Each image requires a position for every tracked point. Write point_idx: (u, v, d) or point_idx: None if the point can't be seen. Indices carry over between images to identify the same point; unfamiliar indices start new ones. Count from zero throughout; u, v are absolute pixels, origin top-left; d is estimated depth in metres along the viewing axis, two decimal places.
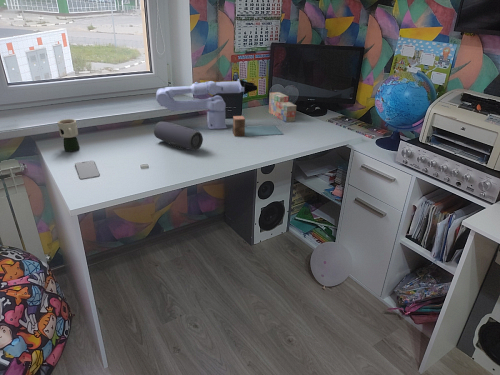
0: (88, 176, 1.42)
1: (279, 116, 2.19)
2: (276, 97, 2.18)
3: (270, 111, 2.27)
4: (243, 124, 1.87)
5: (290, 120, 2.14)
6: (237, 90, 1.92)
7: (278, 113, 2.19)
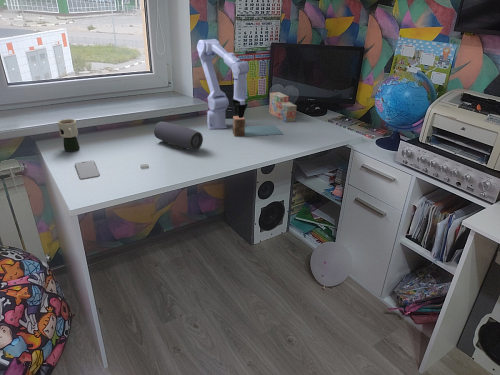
0: (88, 176, 1.42)
1: (279, 116, 2.18)
2: (276, 97, 2.18)
3: (270, 111, 2.27)
4: (243, 124, 1.87)
5: (290, 120, 2.14)
6: (238, 96, 1.80)
7: (278, 113, 2.19)
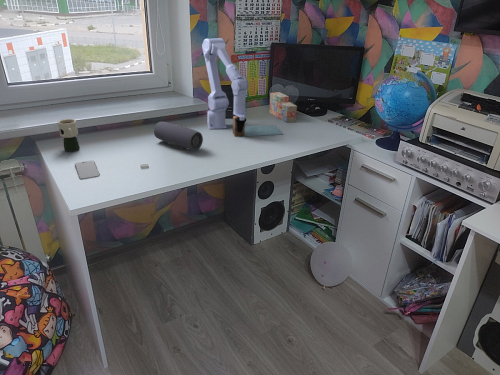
0: (88, 176, 1.42)
1: (279, 116, 2.18)
2: (277, 97, 2.18)
3: (271, 111, 2.27)
4: None
5: (290, 120, 2.13)
6: (237, 112, 1.83)
7: (278, 113, 2.19)
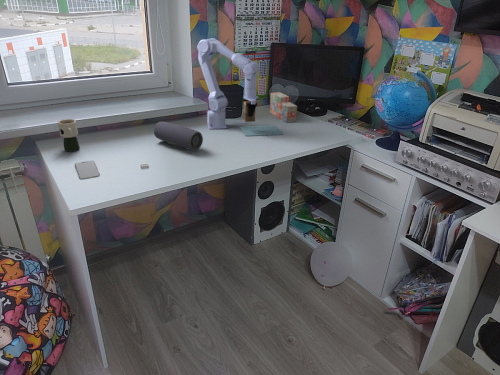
0: (88, 176, 1.42)
1: (280, 116, 2.18)
2: (277, 97, 2.18)
3: (271, 111, 2.27)
4: None
5: (291, 120, 2.13)
6: (248, 96, 1.83)
7: (279, 113, 2.19)
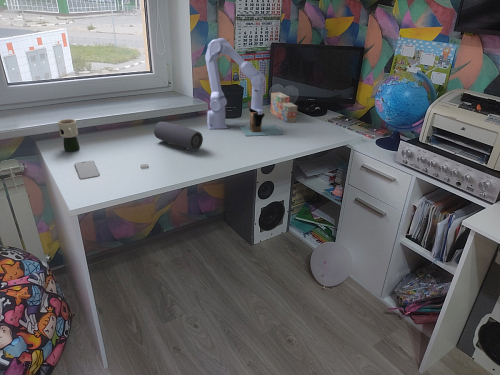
0: (88, 176, 1.42)
1: (280, 116, 2.18)
2: (277, 97, 2.17)
3: (272, 111, 2.27)
4: None
5: (291, 121, 2.13)
6: (255, 106, 1.88)
7: (279, 113, 2.18)
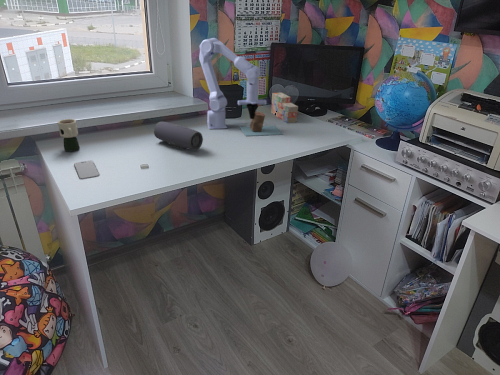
0: (88, 176, 1.42)
1: (281, 117, 2.18)
2: (278, 98, 2.17)
3: (272, 112, 2.27)
4: (262, 120, 1.92)
5: (291, 121, 2.12)
6: None
7: (280, 114, 2.18)
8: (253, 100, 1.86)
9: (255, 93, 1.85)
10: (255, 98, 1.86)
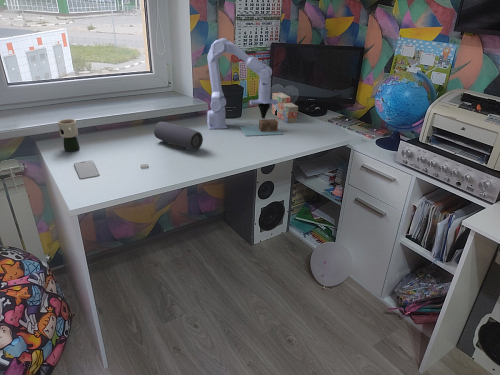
0: (88, 176, 1.42)
1: (281, 117, 2.17)
2: (278, 98, 2.17)
3: (273, 112, 2.26)
4: (272, 130, 1.96)
5: (292, 121, 2.12)
6: None
7: (280, 114, 2.18)
8: (265, 100, 1.88)
9: (267, 93, 1.86)
10: (267, 98, 1.88)
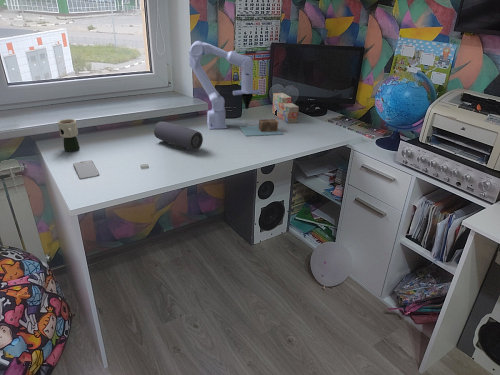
0: (88, 176, 1.42)
1: (281, 117, 2.17)
2: (279, 98, 2.17)
3: (273, 112, 2.26)
4: (272, 130, 1.96)
5: (292, 121, 2.12)
6: None
7: (281, 114, 2.17)
8: (248, 90, 1.90)
9: (249, 83, 1.89)
10: (250, 88, 1.90)
